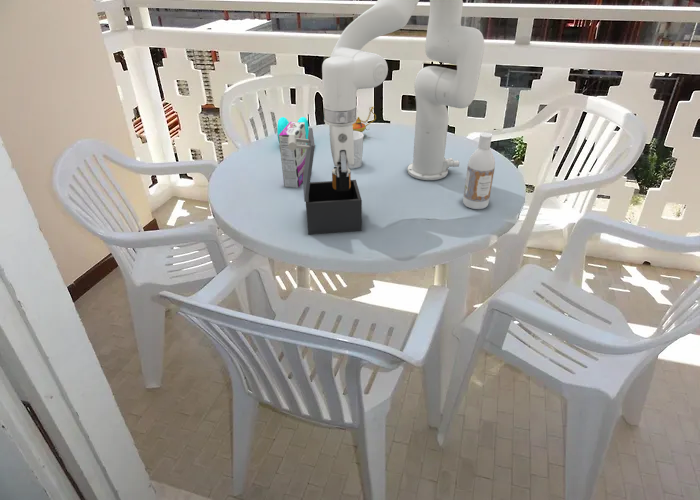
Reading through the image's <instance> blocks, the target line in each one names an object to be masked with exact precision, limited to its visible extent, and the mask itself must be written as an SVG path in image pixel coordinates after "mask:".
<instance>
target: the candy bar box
mask: <svg viewBox="0 0 700 500" xmlns="http://www.w3.org/2000/svg"><path fill="white" fill-rule="evenodd" d="M288 122H289V124H288V125H287V126H286V127H285V128H284V130H283V131H282V132H281V133H280V134H279V135H278V134H277V137H278V136H279V141H278V144H279V153H280V162H281V169H282V177H283V187H284V188H292V189H300V187H301V186H302V185H303V174H304V166H305V158H306V149H302V148H296V149H295V150H290V149H289V148H288V137H289V135H295V136H296V138H301V139H306V132H305V123H304V122H298V121H288ZM297 144H299V145H307V144H306V143H304V142H297Z"/></svg>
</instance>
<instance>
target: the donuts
mask: <svg viewBox="0 0 700 500" xmlns="http://www.w3.org/2000/svg"><path fill="white" fill-rule="evenodd" d="M289 122H290V121H289V120H288V119H287V118H286V117H285V116H281V117H279V118H278V120H277V124H276V125H277V126H276V131H277V140H278V142H279V136H278V135H279V134H280V133H281V132H282V131H283V130H284V128H285V127H286V126H287V125H288V124H289ZM297 122H304V123H305V132H306V139H308V133H309V128H310V127H309V120H308V118H306V117H305V116H301V117H299V119H298V120H297ZM306 144H307V143H306Z"/></svg>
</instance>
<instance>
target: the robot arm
mask: <svg viewBox="0 0 700 500" xmlns="http://www.w3.org/2000/svg"><path fill="white" fill-rule="evenodd" d="M419 2H420V0H376V2H375V3H374V4H373V6H371V7H370V8H368V9H367V10H365V11H363V13H361V14H359V16H357V17H356V18H354V20H352V21H351V22H350V23H349V24H348V25H347V26H346V27H344V29H343V31H342V32H341V34H340V36H339V37H338V39H337V41H336V43H335V45H334V46H333V49H332V51H331V54H330V56H329V57H328V58H327V57H326V59H324V60H323V62H322V64H321V73H322V74H321V75H322V76H321V77H322V97H323V98H322V101H323V102H322V103H323V122H324V123H325V124H326V125H329V127H328V128H329V144H330V153H331V157H332V162H333V165H334V166H333V169H334V168H337V176H336V191H337V192H341V191H349V174H348V169H349V168H348V162H349V165H352V166H353V165H354V140H353V125H352V124H354V123H355V122H356V120H357V91H358V90H364V89H365V90H366V89H373V88H377V87H378V86H381V84H383V82H384V81H385V80H386V79H387V76H388V74H389V73H388V71H389V68H388V63H387V61H386V59H385V58H384V57H383V56H382V55H380V54H378V53H375V52H370V51H365V50H362V49H363V48H364V47H365V46H366V45H367V44H368V43H370V42H371V41H373V40H375V39H376V38H379V37H382V36H385V35H389V34H392V33H394V32H396V31H398V30H401V29H403V28H405V26H407V24H408V23H409V21H410V18H411V17H412V15H413V13H414V12H415V9H416V7H417V6H418V3H419ZM463 9H464V1H463V0H429V14H428V20H427V29H426V37H425V43H424V44H425V45H424V48H425V49H424V51H425V52H424V53H425V55H426V57H427V58H428V59H430V60H431V61H435V62H438V63H444V64H449V65H454V66H455V65H456V69H452V68H447V67H442V66H437V65H428V66H424V67H423V68H421V69H420V70H419V71H418V72H417V74H416V76H415V78H414V84H413V85H414V87H413V88H414V95H415V125H414V138H413V153H412V154H413V156H412V162H411V163H410V164H409V165H408V166H407V169H406V171H407V173H408V175H409V176H411V177H412V178H414V179H418V180H422V181H437V180H441V179H444V178H445V177H447V176H448V173H449V169H450V168H459V167H460V160H454V159H453V157H451V158H450V157H449V158H446V156H445V155H446V148H447V147H446V146H447V137H448V126H449V120H450V119H449V111H448V108H447V107H450V108H456V109H466V108H468V107H469V106H470V105H471V104H472V103H473V101H474V99H475V96H476V93H477V89H478V84H479V80H480V79H479V78H480V74H481V68H482V63H483V57H484V52H485V39H484V35H483V32H481V31H480V30H479V29H478V28H476V27H472V26H465V25H462V16H463ZM339 167H341V169H340V170H339Z"/></svg>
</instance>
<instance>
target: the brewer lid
mask: <svg viewBox="0 0 700 500" xmlns="http://www.w3.org/2000/svg"><path fill="white" fill-rule="evenodd" d="M297 142H304V143H307V145H299V144H297ZM288 148H289V149H290V150H295V149H296V148H302V149H306V158H305V166H304V174H303V182H302V189H303V201H304V203H306V202H308V195H309V188H310V182H311V180H312V171H313V165H314V157H315V149H316V144H315V137H314V131H313V128H312V127H309V133H308V139H301V138H296V136H295V135H289V137H288Z"/></svg>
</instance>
